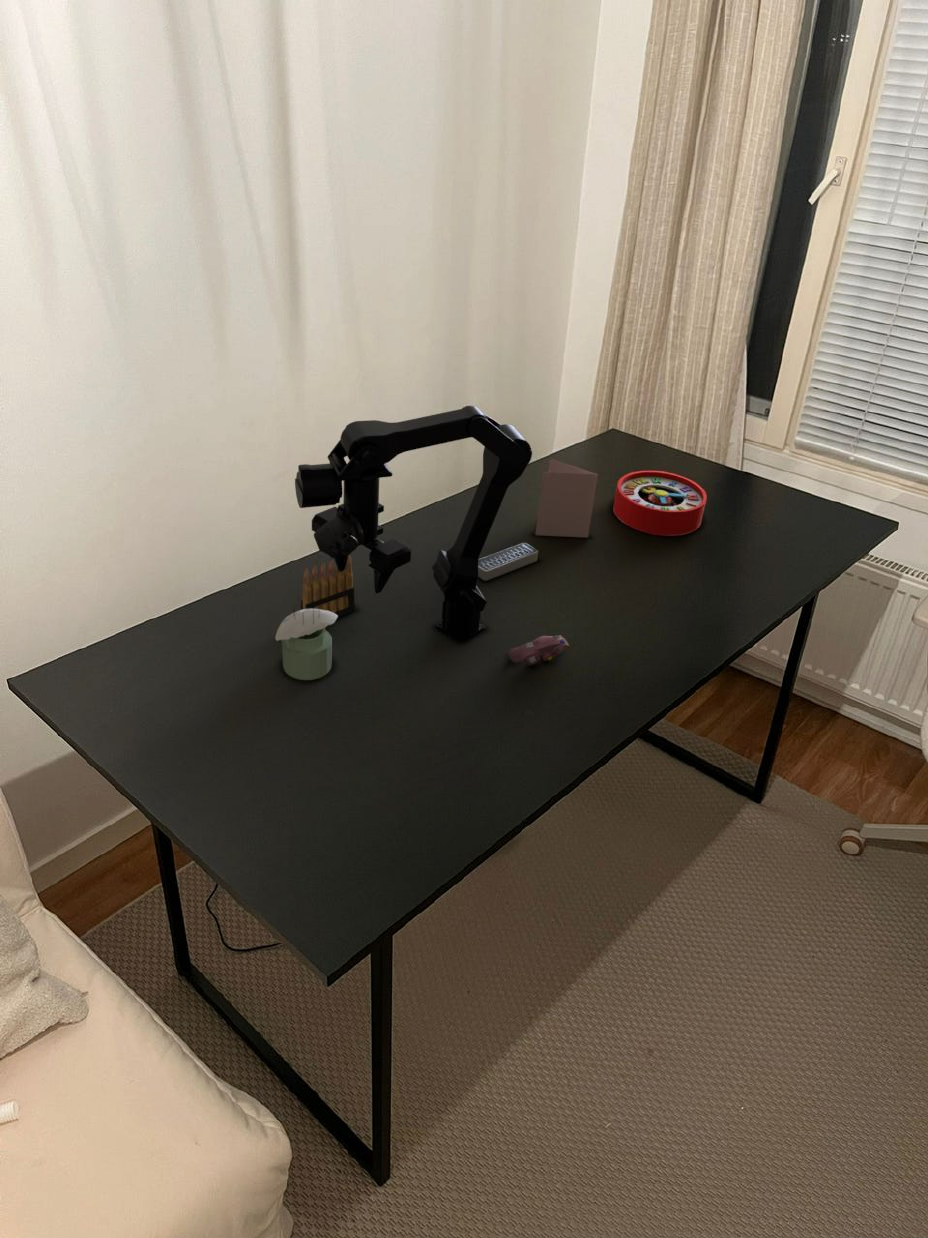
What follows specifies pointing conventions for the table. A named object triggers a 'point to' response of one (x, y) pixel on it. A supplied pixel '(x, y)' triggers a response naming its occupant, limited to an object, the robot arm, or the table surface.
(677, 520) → the toy clock
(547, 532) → the greeting card
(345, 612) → the ammunition clip
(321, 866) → the table surface
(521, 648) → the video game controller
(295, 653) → the pale green cup
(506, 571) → the multiport hub
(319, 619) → the pincushion
